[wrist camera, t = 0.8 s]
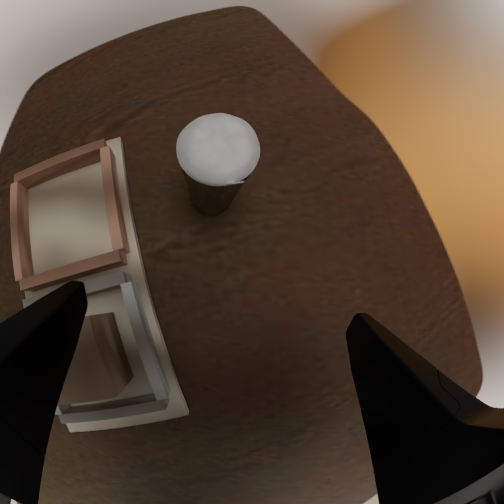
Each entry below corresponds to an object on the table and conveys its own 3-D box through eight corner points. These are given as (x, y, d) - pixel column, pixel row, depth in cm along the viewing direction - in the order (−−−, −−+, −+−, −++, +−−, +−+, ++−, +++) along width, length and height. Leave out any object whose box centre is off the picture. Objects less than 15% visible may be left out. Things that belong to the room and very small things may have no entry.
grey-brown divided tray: (189, 410, 19) (186, 445, 13) (74, 428, 17) (46, 457, 11) (122, 142, 22) (106, 102, 16) (22, 180, 19) (-10, 153, 13)
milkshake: (194, 241, 22) (190, 196, 12) (177, 179, 22) (167, 103, 12) (249, 225, 23) (286, 173, 13) (230, 166, 23) (251, 88, 13)
